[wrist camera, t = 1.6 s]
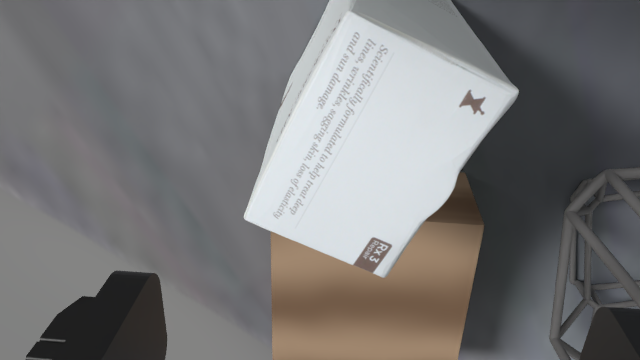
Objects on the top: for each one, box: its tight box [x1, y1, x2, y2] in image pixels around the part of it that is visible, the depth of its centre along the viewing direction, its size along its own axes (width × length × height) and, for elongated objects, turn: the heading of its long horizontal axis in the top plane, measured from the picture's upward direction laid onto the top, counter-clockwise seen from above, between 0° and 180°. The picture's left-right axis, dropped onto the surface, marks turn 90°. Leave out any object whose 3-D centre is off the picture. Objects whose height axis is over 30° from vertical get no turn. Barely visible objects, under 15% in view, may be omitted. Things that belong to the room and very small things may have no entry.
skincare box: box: [244, 0, 519, 278], centre depth 23 cm, size 8×6×15 cm
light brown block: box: [271, 172, 484, 360], centre depth 33 cm, size 11×11×6 cm
